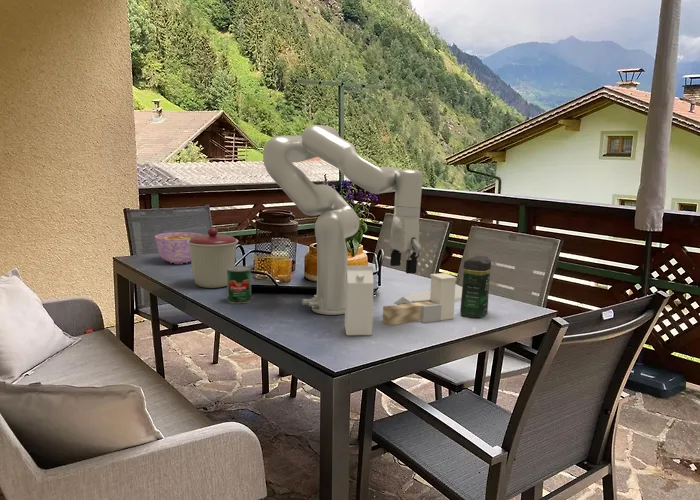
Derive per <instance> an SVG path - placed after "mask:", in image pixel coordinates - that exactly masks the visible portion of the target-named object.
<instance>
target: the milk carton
mask: <svg viewBox="0 0 700 500" xmlns="http://www.w3.org/2000/svg"><path fill="white" fill-rule="evenodd" d="M373 267H374V266H373V265H347V272H346V289H345V314H344V330H345V333H346V334H345V335H346V336H372V335H373V318H374V317H373V313H374V310H373V309H374V285H375V284H374V274H373Z"/></svg>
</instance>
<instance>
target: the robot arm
mask: <svg viewBox="0 0 700 500" xmlns="http://www.w3.org/2000/svg"><path fill="white" fill-rule="evenodd" d="M262 158H263V159H262V160H263V166H264V168H265V169H266V172H267V174H268V175H269V176H270V177H271V179H272V180H273V181H274V182H275V183H276V184H277V185H278V186H279V187H280V189H281V190H282V191H283V192H284V193H285V194H286V196H288V198H289V199H290V200H291V201H292V202H293V203H294V205H295V206H296V207H297V208H298V210H300V211H301V213H302V214H304V215H306V216H311V217H312V216H318V215H319V216H318V217H317V219H316V221H315V224H314V233H315V234H314V235H315V241H316V252H317V253H316V259H317V260H316V263H317V266H316V294H314V295H313V297H311V298H303V299H301V304H302V306H308V307H311V310H312V312H314V313H316V314H320V315H326V316H328V315H329V316H331V315H332V316H334V315H335V316H336V315H337V316H338V315H339V316H340V315H345V289H346V272H347V266H348V262H349V261H348V256H349V255H348V247H347V243H346V239H347V238H350V237H353V236H354V235H356V233H358V231H359V229H360V219H359V216H358V214H357V212H356V211H355V210H354V209H353V208H352V206H351V205H349V203H348V202H347V201H346V200H345V198H343V197H342V196H341V194H340V193H339V192H338V191H337V190H336V189H334V188H333V186H332V187H331V186H330V185H328V184H323V183H322V184H320V183H319V184H316V183H314V182H313V181H312V180H311V179H309V178H308V176H307V175H306V174H305V172H304V171H302V170H301V169H300V168H299V167H298V166H296V165H295V164H293V163H301V162H305V161H309V160H312V159H314V158H315V159H316V158H319V159H321V160H322V161H325V162H326V163H328V164H330V165H331V166H333V167H335V168H336V169H337V170H339V171H340V173H341V174H342V175H343V176H344V177H345V178H346V179H348V180H349V181H350V182H352V183H353V184H354V185H356V186H358V187H360V188H361V189H363V190H365V191H367V192H369V193H372V194H376V195H379V194H385V193H393V192H395V193H394V206H393V207H394V209H393V217H392V220H391V227H390V235H389V247H390V263H389V264H390V266H391V267H399V266H401V263H402V262H401V261H402V260H401V259H402V253H406V257H407V259H406V262H405V273H406V274H417V266H418V261H419V257H420V253H421V250H422V246H421V244H420V217H421V216H420V215H421V204H422V203H421V202H422V192H423V191H422V190H423V189H422V187H423V177H424V176H423V172H422V171H421V170H418V169H410V168H401V169H400V168H397V167H393V166H376V165H375V164H373V163H372V162H369V161H367V160H365V159H364V158H362V157H361V156H360V155H359V154H358V153H357V152H356V147H355V145H354V144H353V143H351V142H349V141H347V140H346V139H344V138H342V137H341V136H340V135H339V133H338V131H337V130H336V129H335V128H334V127H332V126H331V125H322V124H312V125H309V126H307V127H306V128H305V129H304V130H303V132H301V134H300V135H277V136H273V137H271V138H269V139H268V140H267V141H266V143H265V145H264V148H263V151H262Z"/></svg>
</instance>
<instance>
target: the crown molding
mask: <svg viewBox="0 0 700 500" xmlns="http://www.w3.org/2000/svg"><path fill="white" fill-rule="evenodd" d="M430 291H431V289H430V290H426V291H421V292H418V293H414V294H410V295H409V294H408V295H405V296H401V298H399V299H398V300H396V301H395V302H394V303H393V304H394V305H400V304H409V303H412V300H422V299H430ZM461 297H462V286H461V285H459V284H457V283H455V300H454V303H457V302H461Z"/></svg>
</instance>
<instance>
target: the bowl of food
mask: <svg viewBox="0 0 700 500" xmlns="http://www.w3.org/2000/svg"><path fill="white" fill-rule="evenodd" d="M198 235H203V234H201V233H199V232H192V231H191V232H187V231H186V232H183V231H181V232H180V231H179V232H178V231H177V232H165V233H159V234H156V235H154V239H155V243H156V247H157V250H158V252H159V255H160V257H161V258H162V259H163V260H165V261H167V262H169V263H170V264H172V263H174V265H184V264H183V263H186V264H189V263H191V256H190V249H189V244H188V243H187V241H188V240H190V239H191V238H192V237H194V236H198ZM188 262H189V263H188Z"/></svg>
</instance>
